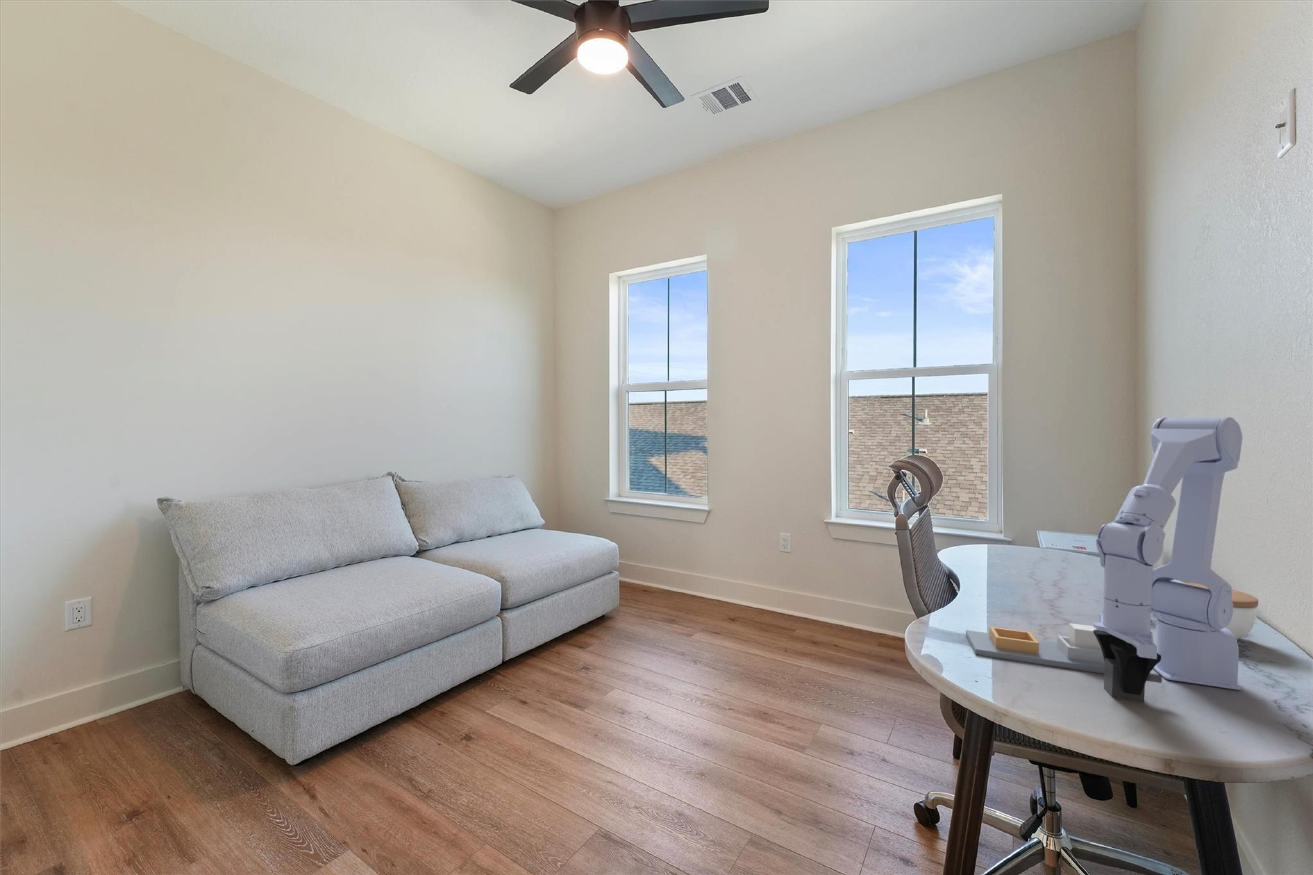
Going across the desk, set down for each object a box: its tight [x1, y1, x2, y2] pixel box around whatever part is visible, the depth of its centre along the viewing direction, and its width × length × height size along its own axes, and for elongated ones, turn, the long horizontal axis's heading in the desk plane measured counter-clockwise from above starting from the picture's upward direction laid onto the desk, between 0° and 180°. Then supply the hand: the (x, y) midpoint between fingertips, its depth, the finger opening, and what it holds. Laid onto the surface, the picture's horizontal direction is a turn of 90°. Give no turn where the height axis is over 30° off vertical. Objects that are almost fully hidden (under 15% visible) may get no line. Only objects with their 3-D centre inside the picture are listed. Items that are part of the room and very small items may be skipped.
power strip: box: [965, 622, 1105, 674], centre depth 99 cm, size 24×10×6 cm, turn 69°
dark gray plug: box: [1103, 658, 1163, 703], centre depth 84 cm, size 6×3×5 cm, turn 69°
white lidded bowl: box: [1181, 582, 1259, 641], centre depth 109 cm, size 13×13×11 cm
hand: (1123, 685), depth 84 cm, fingers open, 4 cm apart
